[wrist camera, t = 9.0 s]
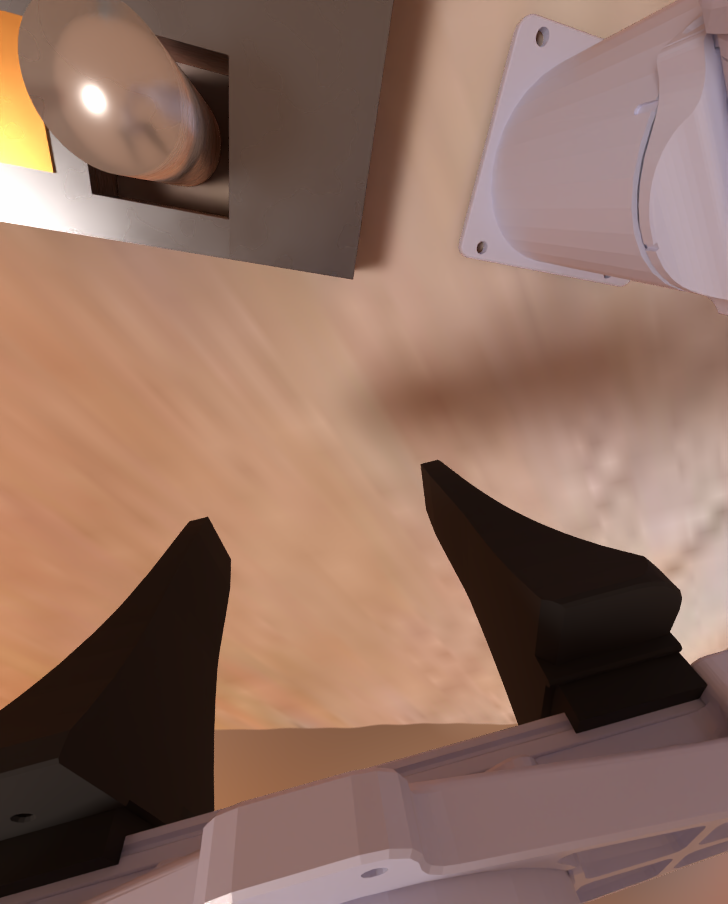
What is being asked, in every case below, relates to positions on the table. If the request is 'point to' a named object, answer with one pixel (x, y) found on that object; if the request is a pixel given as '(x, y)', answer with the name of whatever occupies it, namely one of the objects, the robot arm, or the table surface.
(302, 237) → the plate
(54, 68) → the steel peg
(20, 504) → the table surface
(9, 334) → the table surface
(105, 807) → the robot arm
